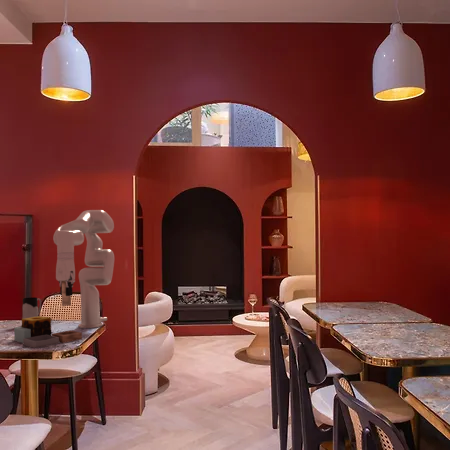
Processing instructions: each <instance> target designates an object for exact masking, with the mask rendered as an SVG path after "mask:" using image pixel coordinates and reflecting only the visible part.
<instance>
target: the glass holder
mask: <svg viewBox="0 0 450 450" xmlns="http://www.w3.org/2000/svg"><path fill="white" fill-rule="evenodd" d="M38 301H39V303H38ZM38 304H39V307H38ZM41 308H42V300H41V299H40V298H38V297H23V298H22V319H25V318H31V317H37V316H39V314H40V312H41Z"/></svg>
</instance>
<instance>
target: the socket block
mask: <svg viewBox="0 0 450 450" xmlns="http://www.w3.org/2000/svg"><path fill="white" fill-rule="evenodd" d="M51 336H55V337H59V343H61V344H64V343H69V342H74V341H80V340H83V333H82V332H80V331H75V330H65V331H59V332H54V333H53V332H52V334H51Z"/></svg>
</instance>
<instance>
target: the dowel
mask: <svg viewBox="0 0 450 450" xmlns="http://www.w3.org/2000/svg"><path fill="white" fill-rule="evenodd" d="M69 280H70V279H69ZM69 280H68V281H69ZM68 284H69V282H68ZM71 297H72V296H66V281H62V295H61V306H62V307H68V306H71V305H72V298H71Z"/></svg>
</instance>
